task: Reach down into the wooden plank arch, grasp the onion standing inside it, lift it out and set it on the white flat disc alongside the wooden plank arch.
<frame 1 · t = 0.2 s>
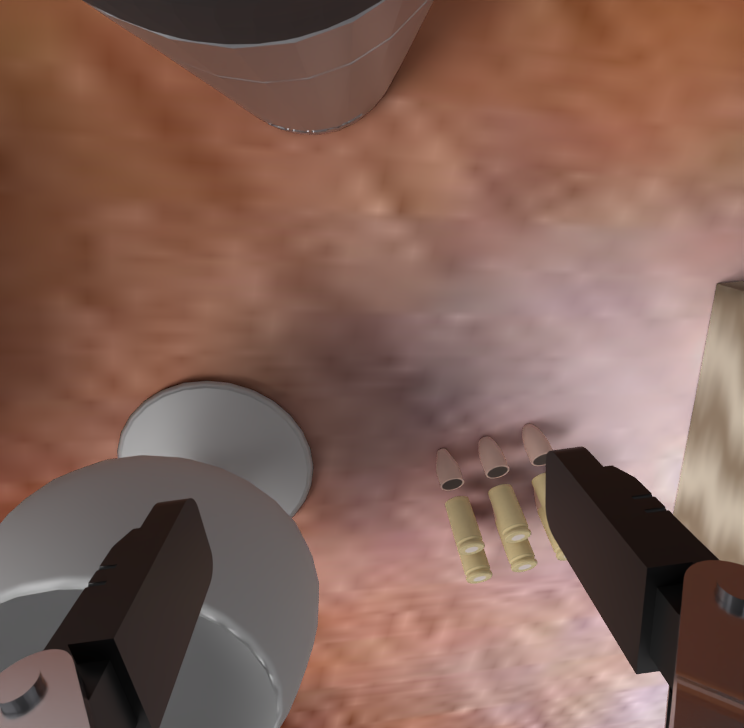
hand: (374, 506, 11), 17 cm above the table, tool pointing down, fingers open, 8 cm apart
chalice: (219, 462, 30), on the table
ammunition: (492, 480, 32), on the table
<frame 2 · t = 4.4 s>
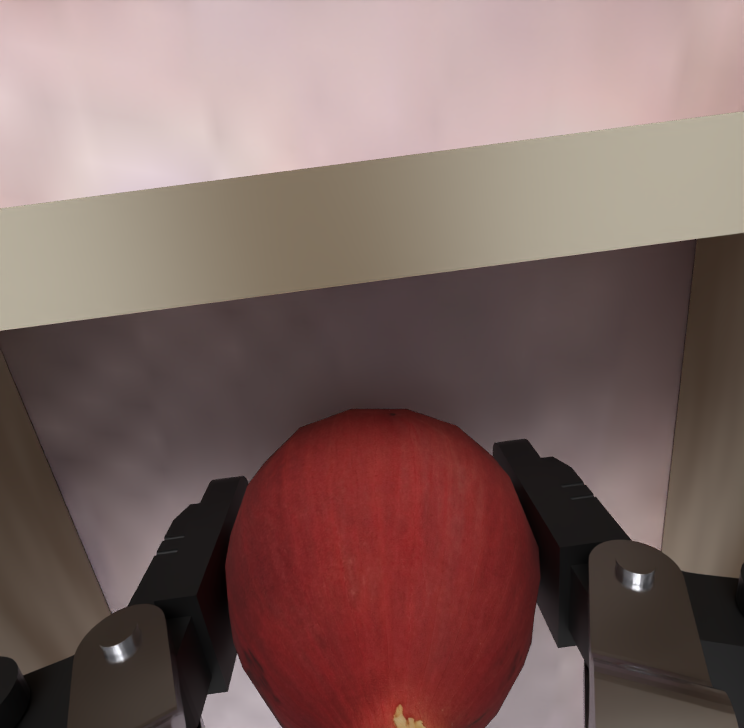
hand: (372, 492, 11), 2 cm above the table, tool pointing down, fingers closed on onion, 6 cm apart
wooden plank arch: (370, 457, 13), on the table
onion: (370, 453, 13), on the table, touching gripper
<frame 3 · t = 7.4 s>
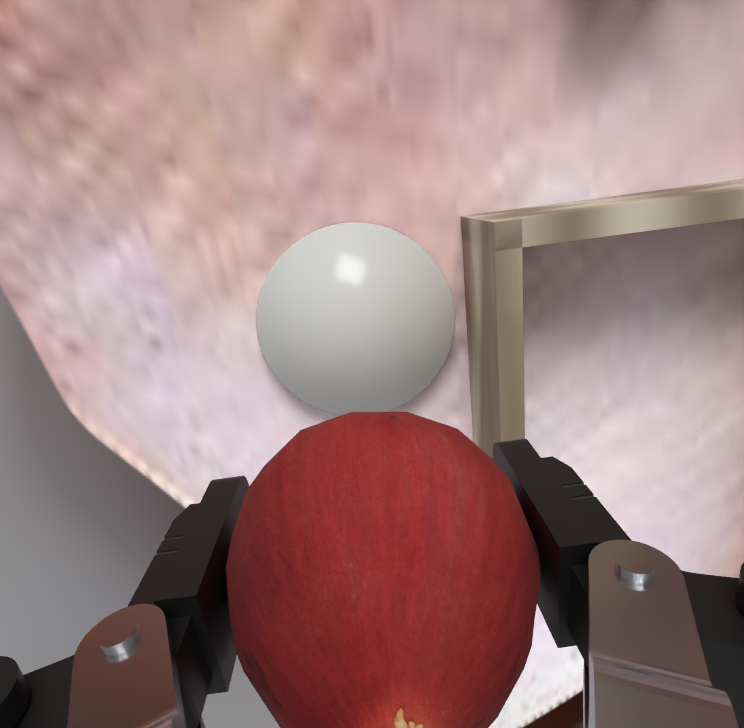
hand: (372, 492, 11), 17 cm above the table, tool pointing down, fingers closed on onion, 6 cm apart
wooden plank arch: (627, 317, 28), on the table
onion: (370, 455, 13), point 15 cm above the table, touching gripper
white flat disc: (356, 321, 27), on the table
when the fingers open (4 cm above the table, at t = 10.6 s): onion drops 1 cm, resting on white flat disc.
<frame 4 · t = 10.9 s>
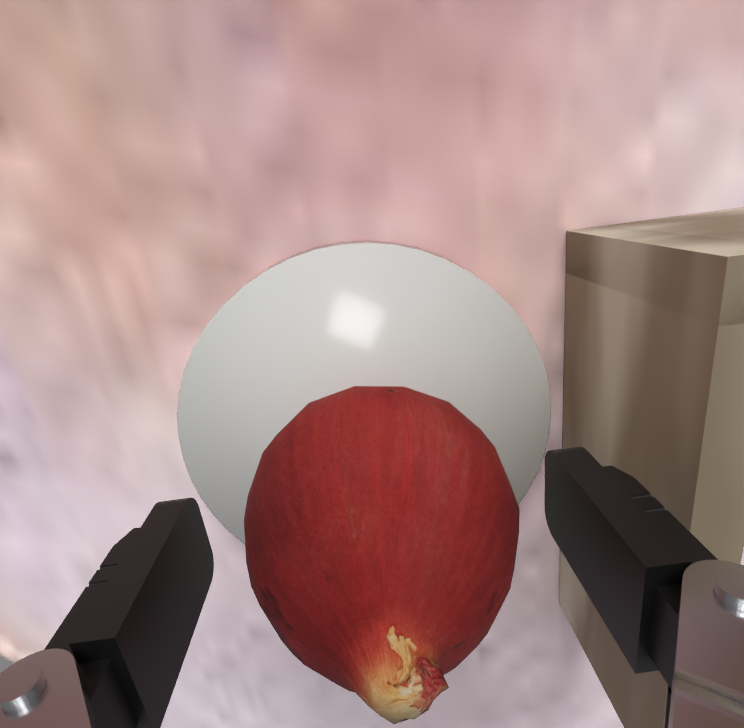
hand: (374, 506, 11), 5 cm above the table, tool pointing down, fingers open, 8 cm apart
onion: (372, 430, 14), point 1 cm above the table, touching white flat disc
white flat disc: (366, 417, 15), on the table
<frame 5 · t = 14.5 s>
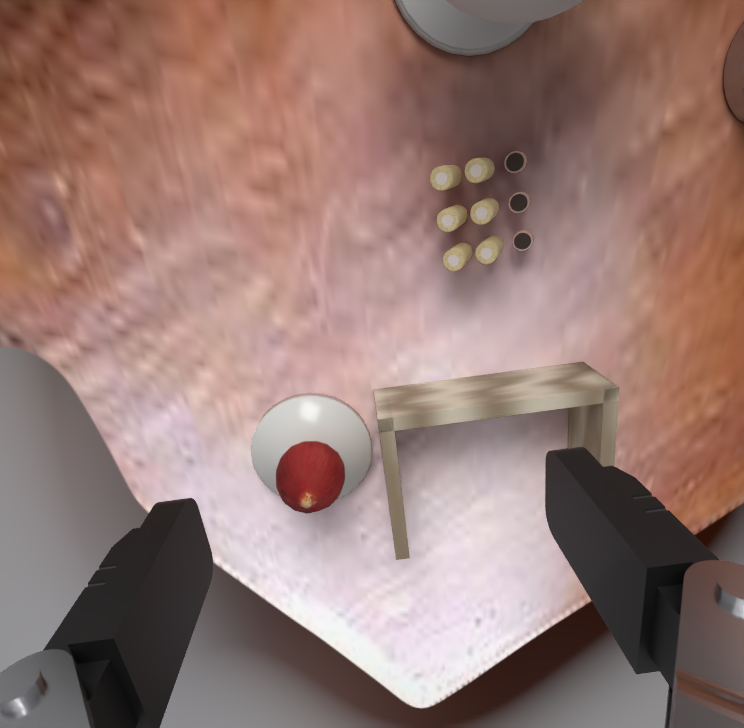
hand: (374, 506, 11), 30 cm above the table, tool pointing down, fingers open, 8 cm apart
wooden plank arch: (481, 443, 45), on the table
onion: (313, 452, 43), point 1 cm above the table, touching white flat disc
white flat disc: (312, 447, 44), on the table
ammunition: (475, 209, 38), on the table
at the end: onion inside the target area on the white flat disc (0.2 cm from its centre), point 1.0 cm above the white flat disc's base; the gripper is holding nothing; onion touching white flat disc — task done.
